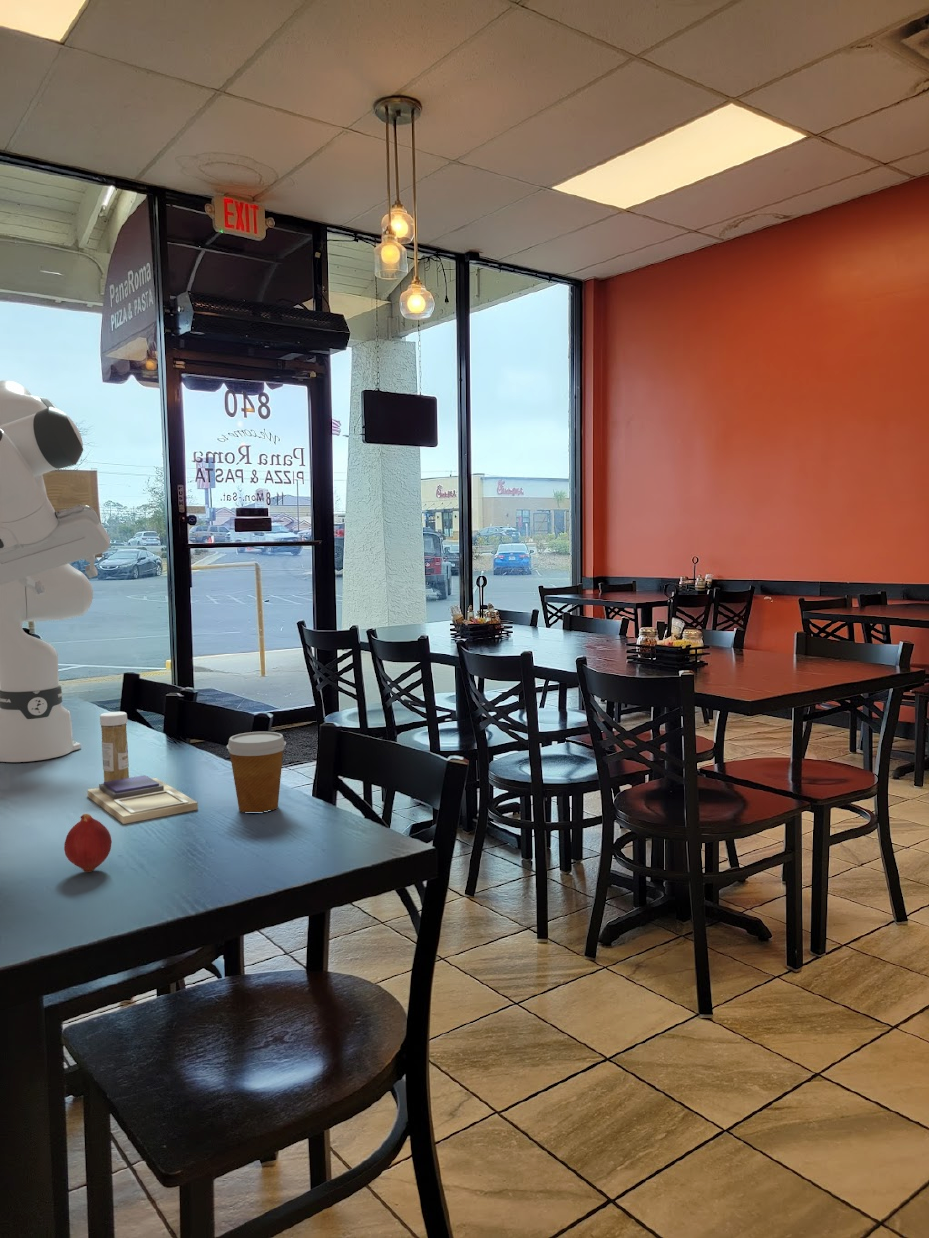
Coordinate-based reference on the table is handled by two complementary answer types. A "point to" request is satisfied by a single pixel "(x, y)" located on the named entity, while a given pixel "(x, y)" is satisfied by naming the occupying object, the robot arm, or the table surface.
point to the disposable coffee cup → (257, 769)
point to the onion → (87, 843)
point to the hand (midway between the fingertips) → (67, 583)
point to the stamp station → (140, 799)
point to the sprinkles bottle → (114, 746)
